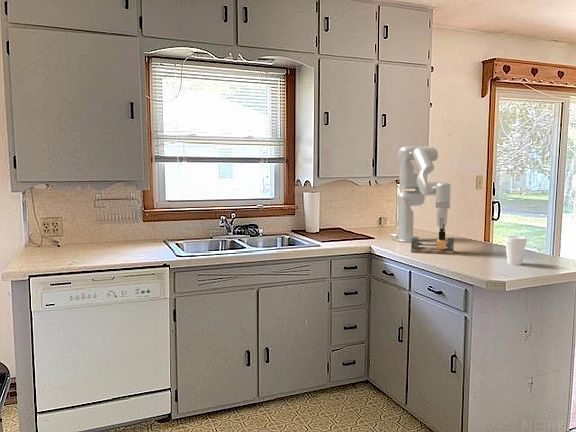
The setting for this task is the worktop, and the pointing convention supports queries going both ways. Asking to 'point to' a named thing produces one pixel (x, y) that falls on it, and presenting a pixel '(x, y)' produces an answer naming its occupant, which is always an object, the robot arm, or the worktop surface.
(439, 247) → the carriage
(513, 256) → the foam cup
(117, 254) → the worktop surface
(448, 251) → the rail board
